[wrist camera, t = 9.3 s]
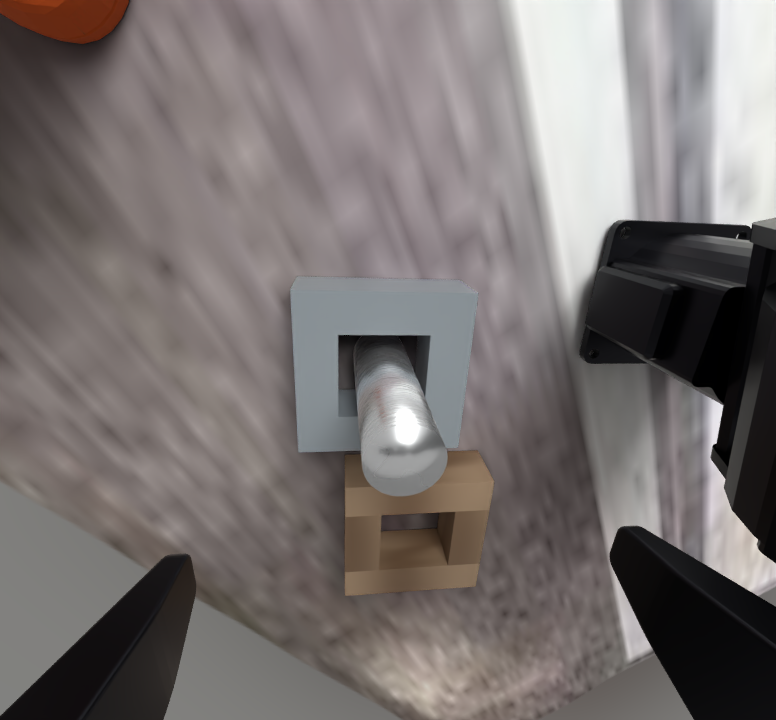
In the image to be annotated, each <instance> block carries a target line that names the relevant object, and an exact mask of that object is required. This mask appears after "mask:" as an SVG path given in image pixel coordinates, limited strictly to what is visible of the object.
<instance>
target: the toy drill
mask: <svg viewBox="0 0 776 720" xmlns="http://www.w3.org/2000/svg"><path fill="white" fill-rule="evenodd" d="M128 3H129V0H0V13H1V14H2V15H4V16H6V17H7V18H9V19H11V20H12V21H14V22H15V23H17V24H19V25H20V26H23V27H25V28H28V29H30V30H32V31H35V32H37V33H39V34H42V35H44V36H48V37H50V38H54V39H57V40H60V41H64V42H72V43H79V44H85V43H89V42H93V41H97V40H100V39H101V38H103V37H104V36H106V35H107V34H109V33H110V32H111V31H112V30H113V29H114V28H115V26H116V25H117V24H118V23H119V21H120V20H121V19H122V17H123V14H124V12H125V10H126V7H127V5H128Z"/></svg>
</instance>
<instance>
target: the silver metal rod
mask: <svg viewBox="0 0 776 720" xmlns="http://www.w3.org/2000/svg"><path fill="white" fill-rule="evenodd" d="M353 363H354V375H355V387H356V399H357V411H358V423H359V435H360V447H361V459H362V469H363V473H364V476H365V478H366V480H367V481H368V482H369V484H370V485H371V486H372V487H373V488H375V489H376V490H378V491H380V492H382V493H384V494H387V495H391V496H410V495H414V494H417V493H420V492H422V491H425V490H426V489H428V488H430V487H431V486H432V485H434V484H435V483H436V482H437V481H438V480H439V479H440V477H441V476H442V474H443V472H444V470H445V468H446V465H447V457H448V456H447V450H446V446H445V444H444V442H443V439H442V437H441V434H440V432H439V430H438V427H437V425H436V422H435V420H434V418H433V415H432V413H431V410H430V408H429V406H428V403H427V401H426V398H425V396H424V394H423V391H422V389H421V386H420V384H419V382H418V379H417V377H416V374H415V372H414V370H413V367H412V365H411V362H410V360H409V358H408V355H407V353H406V350H405V348H404V346H403V343H402V341H401V340H400V339H399V338H398V337H397V336H396V335H363V336H362V337H360V339H359V340H358V341H357V342H356V344H355V346H354V350H353Z"/></svg>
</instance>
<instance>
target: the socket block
mask: <svg viewBox="0 0 776 720" xmlns="http://www.w3.org/2000/svg"><path fill="white" fill-rule="evenodd" d="M447 456H448V457H447V465H446V468H445V470H444V472H443V474H442V476H441V477H440V479H439V480H438V481H437V482H436V483H435V484H434V485H432V486H431V487H430V488H428V489H426V490H425V491H422V492H420V493H417V494H414V495H410V496H391V495H387V494H384V493H382V492H380V491H378V490H376V489H375V488H373V487H372V486H371V485H370V484H369V482H368V481H367V480H366V478H365V476H364V473H363V469H362V459H361V454H348V455H345V539H344V559H345V596H351V595H364V594H378V593H392V592H406V591H420V590H433V589H447V588H461V587H475V586H476V581H477V575H478V570H479V564H480V559H481V553H482V548H483V542H484V537H485V531H486V526H487V520H488V515H489V509H490V504H491V498H492V493H493V487H494V480H493V478H492V476H491V475H490V473H489V471H488V469H487V467H486V465H485V463H484V461H483V460H482V458H481V456H480V454H479V452H478V451H447ZM438 512H439V517H438V526H437V528H435V529H416V530H398V531H381V515H397V514H418V513H438Z"/></svg>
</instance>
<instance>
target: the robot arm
mask: <svg viewBox="0 0 776 720" xmlns="http://www.w3.org/2000/svg"><path fill="white" fill-rule="evenodd" d="M623 228H625V233H624V235H623V236H622V237H620V232H621V230H622V229H623ZM737 235H738V238H737V239H736V236H737ZM585 323H586V327H585V331H584V335H583V339H582V343H581V347H580V353H579V355H580V357H581V358H582V359H583V360H585V361H586V362H587V363H591V364H617V363H649V364H650V365H652V366H654V367H656V368H658V369H659V370H661V371H663V372H665V373H667V374H668V375H670V376H672V377H674V378H676V379H677V380H679V381H681V382H683V383H685V384H686V385H688V386H690V387H692V388H693V389H695V390H697V391H699V392H701V393H702V394H704V395H706V396H708V397H710V398H711V399H713V400H715V401H717V402H719V403H720V404H722V405H724V406H723V412H722V417H721V423H720V428H719V434H718V439H717V444H714V445H713V447H712V453H711V460H712V461H713V462H714V464H715V465H716V467H717V468H718V469H719V471H720V472H721V474H722V475H723V476H724V478H725V479H726V480H725V485H724V489H725V492H726V495H727V498H728V500H729V503H730V506H731V509H732V511H733V512H734V513H735V514H736V515H737V516H738V518H739V519H740V520H741V521H742V522H743V523H744V525H745V526H746V527H747V528H748V529H749V530H750V532H751V533H752V534H753V535H754V536H755V537H756V538H757V539H758V542H757V546H758V549H759V550H760V551H761V552H762V553H763V554H764V555H765V556H767V557H768V558H769V559H771V560H772V561H773V562H775V563H776V218H772V219H768V220H763V221H758V222H754V223H752V229H751V228H750V227H749V226H746V225H732V224H709V223H686V222H662V221H639V220H619V221H617V222H615V223H614V224H613V225H612V226H611V228H610V230H609V233H608V237H607V241H606V245H605V249H604V253H603V257H602V261H601V266H600V270H599V271H598V272H597V276H596V280H595V285H594V289H593V293H592V297H591V301H590V305H589V309H588V313H587V317H586V322H585ZM593 349H594V352H593V354H591V355H589V353H590V351H591V350H593ZM610 562H611V565H612V567H613V570H614V572H615V574H616V576H617V578H618V580H619V582H620V584H621V586H622V588H623V590H624V593H625V595H626V597H627V599H628V601H629V603H630V605H631V607H632V609H633V611H634V613H635V615H636V618H637V620H638V622H639V624H640V626H641V628H642V630H643V632H644V634H645V636H646V638H647V640H648V641H649V643H650V645H651V647H652V649H653V650H654V652H655V654H656V656H657V657H658V659H659V660H660V662H661V664H662V666H663V667H664V669H665V671H666V672H667V674H668V676H669V678H670V679H671V681H672V683H673V685H674V686H675V688H676V690H677V692H678V693H679V695H680V697H681V698H682V700H683V702H684V704H685V705H686V707H687V708H688V710H689V712H690V714H691V715H692V717H693V719H694V720H776V607H775V606H774V605H772V604H770V603H768V602H767V601H765V600H763V599H762V598H760V597H758V596H757V595H755V594H753V593H752V592H750V591H748V590H747V589H745V588H743V587H742V586H740V585H738V584H737V583H735V582H733V581H732V580H730V579H728V578H726V577H725V576H723V575H721V574H720V573H718V572H716V571H715V570H713V569H711V568H710V567H708V566H706V565H705V564H703V563H701V562H700V561H698V560H696V559H695V558H693V557H691V556H689V555H688V554H686V553H684V552H683V551H681V550H679V549H678V548H676V547H674V546H673V545H671V544H669V543H668V542H666V541H664V540H663V539H661V538H659V537H658V536H656V535H654V534H653V533H651V532H649V531H647V530H646V529H644V528H642V527H640V526H623V527H620V528H619V529H618V531H617V533H616V536H615V539H614V542H613V545H612V548H611V551H610ZM195 594H196V581H195V575H194V570H193V565H192V560H191V557H190V555H188V554H172V555H167V556H165V557H164V558H163V559H161V560H160V561H159V562H158V563H157V564H156V565H155V566H154V567H153V568H152V569H151V570H150V571H149V572H148V573H147V574H146V575H145V576H144V577H143V578H142V579H141V580H140V581H139V582H138V583H137V584H136V585H135V586H134V587H133V588H132V589H131V590H130V591H128V592H127V593H126V594H125V595H124V596H123V597H122V598H121V599H120V600H119V601H118V602H117V603H116V604H115V605H114V606H113V607H112V608H111V609H110V610H109V611H108V612H107V613H106V614H105V615H104V616H103V617H102V618H101V619H100V620H99V621H98V622H97V623H96V624H94V625H93V626H92V627H91V628H90V629H89V630H88V631H87V632H86V633H85V634H84V635H83V636H82V637H81V638H80V639H79V640H78V641H77V642H76V643H75V644H74V645H73V646H72V647H71V648H70V649H69V650H68V651H67V652H66V653H65V654H64V655H63V656H62V657H61V658H59V659H58V660H57V662H55V663H54V665H52V666H51V667H50V668H49V669H48V670H47V671H46V672H45V673H44V674H43V675H42V676H41V677H40V678H39V679H38V680H37V681H36V682H35V683H34V684H33V685H32V686H31V687H30V688H29V689H28V690H27V691H25V692H24V694H22V695H21V696H20V697H19V698H18V699H17V700H16V701H15V702H14V703H13V704H12V705H11V706H10V707H9V708H8V709H7V710H6V711H5V712H4V713H3V714H2V715H1V716H0V720H163V719H164V716H165V713H166V710H167V707H168V704H169V701H170V697H171V694H172V691H173V688H174V684H175V680H176V676H177V672H178V668H179V664H180V659H181V655H182V650H183V647H184V642H185V638H186V634H187V629H188V625H189V621H190V616H191V612H192V608H193V603H194V599H195Z"/></svg>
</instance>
